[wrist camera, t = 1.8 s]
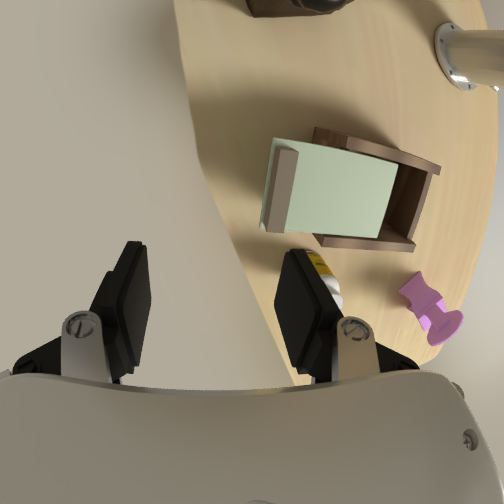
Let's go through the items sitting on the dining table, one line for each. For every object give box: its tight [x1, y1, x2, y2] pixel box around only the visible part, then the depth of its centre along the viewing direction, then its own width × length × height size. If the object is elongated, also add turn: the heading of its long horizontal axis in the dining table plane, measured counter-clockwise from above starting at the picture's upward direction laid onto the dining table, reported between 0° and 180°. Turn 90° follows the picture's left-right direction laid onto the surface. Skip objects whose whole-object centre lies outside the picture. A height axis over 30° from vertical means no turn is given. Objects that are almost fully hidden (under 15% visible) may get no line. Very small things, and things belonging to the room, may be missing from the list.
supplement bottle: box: [306, 251, 343, 309], centre depth 37 cm, size 5×5×10 cm
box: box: [312, 127, 441, 253], centre depth 31 cm, size 14×12×9 cm
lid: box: [259, 137, 398, 238], centre depth 25 cm, size 14×9×3 cm, turn 83°
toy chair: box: [398, 271, 464, 346], centre depth 42 cm, size 8×9×15 cm
